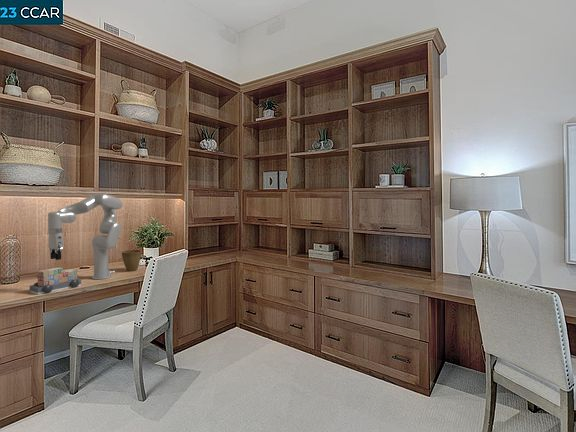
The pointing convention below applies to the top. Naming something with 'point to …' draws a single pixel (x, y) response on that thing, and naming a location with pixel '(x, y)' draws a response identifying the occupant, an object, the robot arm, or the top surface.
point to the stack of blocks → (55, 276)
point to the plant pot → (131, 259)
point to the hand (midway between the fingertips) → (55, 258)
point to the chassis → (54, 287)
